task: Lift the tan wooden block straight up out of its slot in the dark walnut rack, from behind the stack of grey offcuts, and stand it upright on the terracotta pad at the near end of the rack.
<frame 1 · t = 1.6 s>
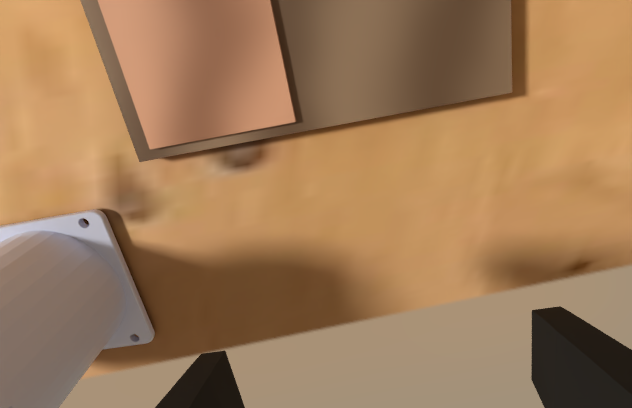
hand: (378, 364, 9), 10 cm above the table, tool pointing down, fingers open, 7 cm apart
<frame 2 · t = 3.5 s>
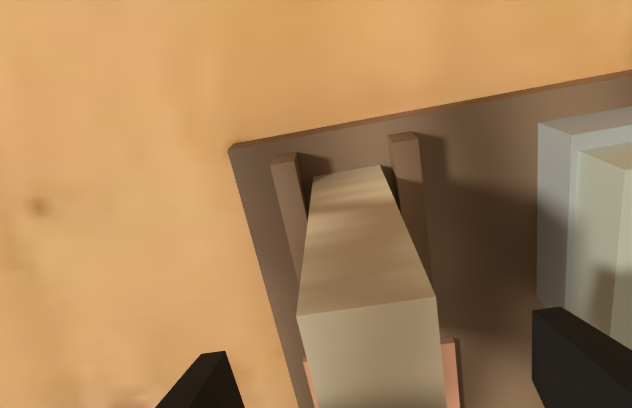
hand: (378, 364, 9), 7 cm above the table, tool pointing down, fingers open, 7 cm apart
tan wooden block: (358, 244, 15), point 1 cm above the table, touching walnut rack
offcut lower: (594, 208, 14), point 1 cm above the table, touching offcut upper, walnut rack
walnut rack: (462, 291, 17), on the table
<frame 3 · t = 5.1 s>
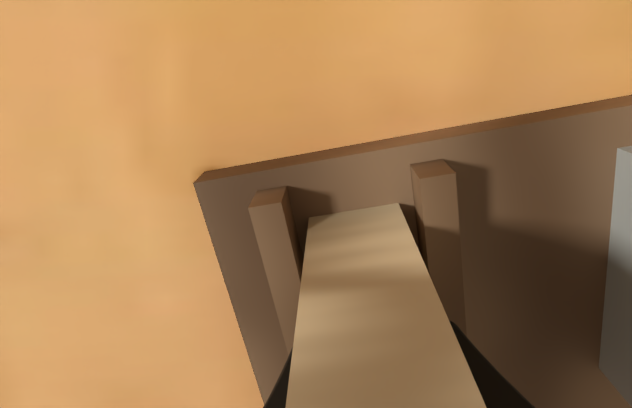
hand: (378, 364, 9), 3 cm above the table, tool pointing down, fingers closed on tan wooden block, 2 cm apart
tan wooden block: (369, 303, 12), point 1 cm above the table, touching gripper, walnut rack
walnut rack: (499, 354, 13), on the table
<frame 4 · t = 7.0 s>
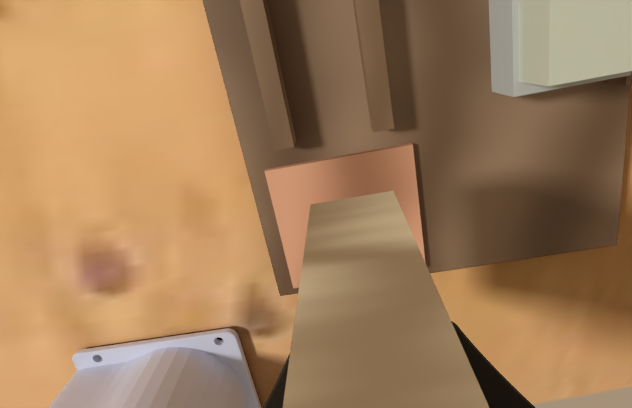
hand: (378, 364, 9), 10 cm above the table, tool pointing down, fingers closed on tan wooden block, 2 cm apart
tan wooden block: (366, 286, 12), point 7 cm above the table, touching gripper
walnut rack: (421, 101, 17), on the table
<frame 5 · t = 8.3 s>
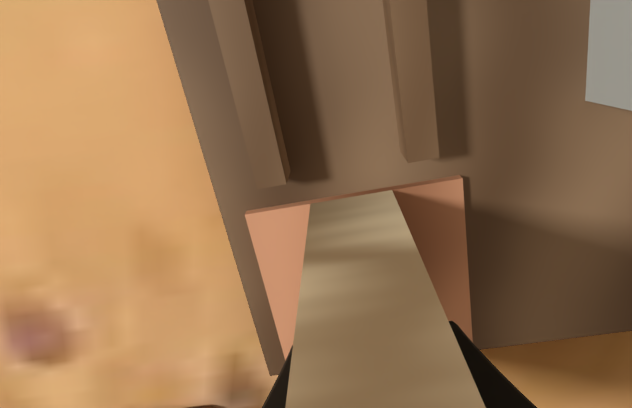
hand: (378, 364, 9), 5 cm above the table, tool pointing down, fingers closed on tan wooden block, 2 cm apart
tan wooden block: (365, 283, 13), point 1 cm above the table, touching gripper, walnut rack
walnut rack: (473, 112, 12), on the table
when the fingers open (5 cm above the table, at t = 8.9 s): tan wooden block stays where it is, resting on walnut rack.
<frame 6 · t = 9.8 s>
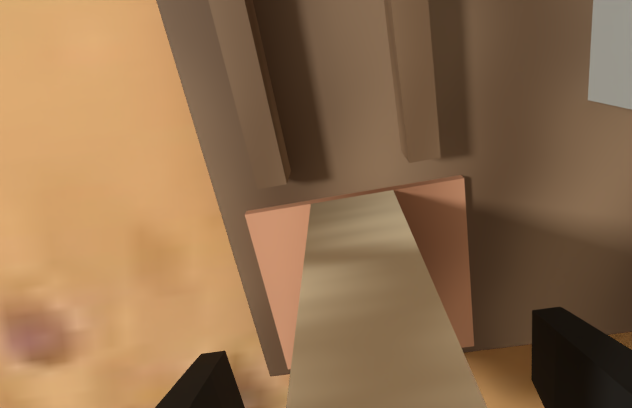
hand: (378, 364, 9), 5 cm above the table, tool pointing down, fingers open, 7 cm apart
tan wooden block: (366, 284, 13), point 1 cm above the table, touching walnut rack
walnut rack: (475, 112, 12), on the table
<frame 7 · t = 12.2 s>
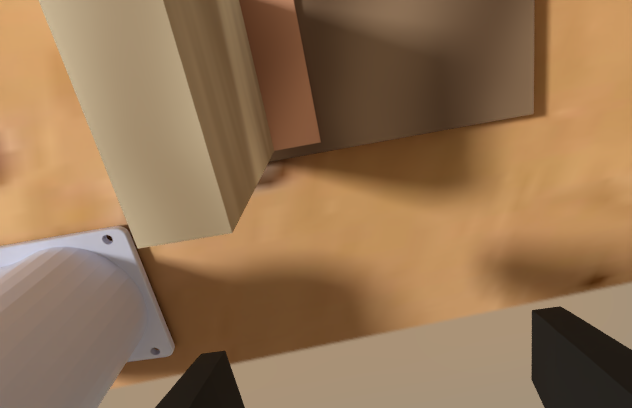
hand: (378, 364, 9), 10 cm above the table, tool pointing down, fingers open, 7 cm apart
tan wooden block: (228, 84, 16), point 1 cm above the table, touching walnut rack
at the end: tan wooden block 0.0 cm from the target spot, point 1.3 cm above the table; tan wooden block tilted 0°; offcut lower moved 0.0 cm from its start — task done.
